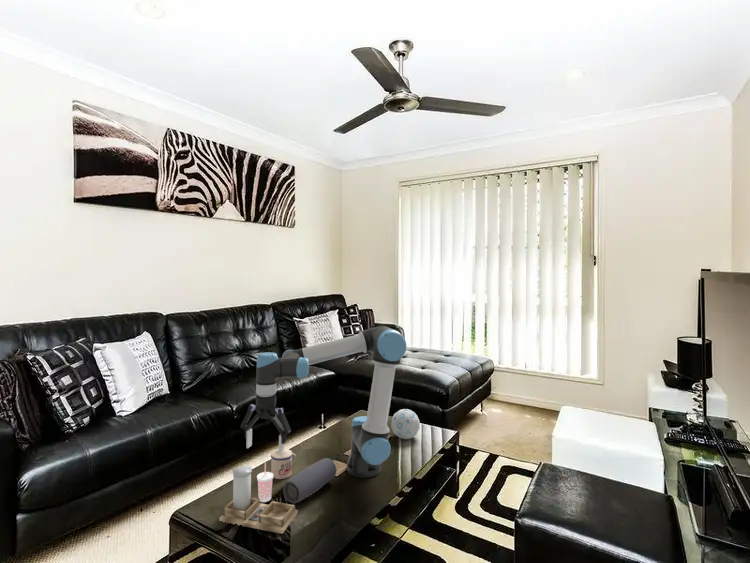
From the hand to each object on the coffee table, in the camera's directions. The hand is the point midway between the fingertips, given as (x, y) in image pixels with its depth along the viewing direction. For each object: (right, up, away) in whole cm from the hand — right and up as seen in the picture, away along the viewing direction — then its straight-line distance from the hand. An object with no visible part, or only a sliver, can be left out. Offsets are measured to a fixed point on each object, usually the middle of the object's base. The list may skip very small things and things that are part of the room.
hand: (265, 449), depth 156 cm
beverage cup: (0, -19, +1) cm, 19 cm away
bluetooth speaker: (+16, -20, +6) cm, 26 cm away
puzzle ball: (+58, -19, +60) cm, 86 cm away
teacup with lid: (+3, -19, +21) cm, 28 cm away
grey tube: (-6, -18, -9) cm, 21 cm away
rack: (+1, -20, -11) cm, 22 cm away
